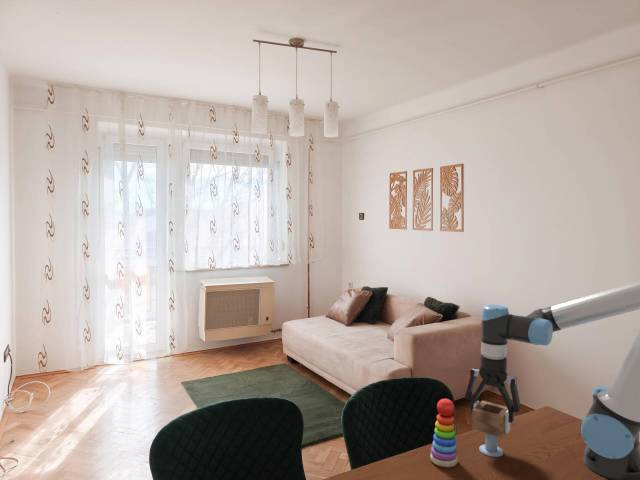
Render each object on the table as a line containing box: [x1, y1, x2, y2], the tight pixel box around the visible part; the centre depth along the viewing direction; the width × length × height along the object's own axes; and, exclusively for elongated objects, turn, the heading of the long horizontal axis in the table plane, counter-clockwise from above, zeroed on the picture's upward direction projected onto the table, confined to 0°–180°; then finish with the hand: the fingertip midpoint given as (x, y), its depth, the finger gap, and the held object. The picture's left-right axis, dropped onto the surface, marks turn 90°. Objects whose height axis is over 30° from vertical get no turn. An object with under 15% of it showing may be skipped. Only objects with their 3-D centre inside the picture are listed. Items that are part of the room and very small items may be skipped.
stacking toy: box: [429, 398, 459, 468], centre depth 137 cm, size 8×8×19 cm
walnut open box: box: [471, 400, 512, 438], centre depth 143 cm, size 9×9×6 cm
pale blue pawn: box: [478, 433, 504, 458], centre depth 144 cm, size 7×7×9 cm
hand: (491, 426), depth 143 cm, fingers closed on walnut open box, 9 cm apart
